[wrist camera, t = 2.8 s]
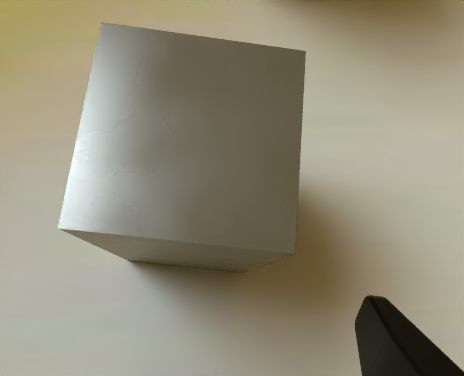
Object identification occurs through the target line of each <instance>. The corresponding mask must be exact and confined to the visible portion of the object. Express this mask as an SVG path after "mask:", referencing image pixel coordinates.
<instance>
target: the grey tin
mask: <svg viewBox="0 0 464 376" xmlns="http://www.w3.org/2000/svg"><path fill="white" fill-rule="evenodd" d="M305 55H306V51H301V50H294V49H287V48H280V47H273V46H266V45H259V44H252V43H245V42H238V41H231V40H224V39H216V38H209V37H202V36H195V35H188V34H181V33H174V32H167V31H160V30H153V29H146V28H139V27H131V26H124V25H117V24H110V23H103V22H102V23H101V27H100V32H99V37H98V41H97V46H96V51H95V56H94V60H93V65H92V70H91V74H90V79H89V84H88V89H87V93H86V98H85V103H84V107H83V112H82V117H81V121H80V126H79V131H78V136H77V140H76V145H75V150H74V154H73V159H72V164H71V168H70V173H69V178H68V183H67V187H66V192H65V197H64V201H63V206H62V211H61V216H60V220H59V225H58V229H61V230H63V231H65V232H67V233H69V234H71V235H74V236H76V237H78V238H80V239H82V240H84V241H87V242H89V243H91V244H93V245H95V246H97V247H100V248H102V249H104V250H106V251H108V252H111V253H113V254H115V255H117V256H119V257H121V258H124V259H126V260H128V261H138V262H148V263H158V264H167V265H177V266H187V267H197V268H207V269H216V270H226V271H236V272H246V271H249V270H252V269H254V268H257V267H260V266H263V265H265V264H268V263H271V262H273V261H276V260H279V259H282V258H284V257H287V256H290V255H292V254H295V246H296V227H297V208H298V189H299V170H300V151H301V132H302V113H303V94H304V74H305Z"/></svg>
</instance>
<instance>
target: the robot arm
mask: <svg viewBox="0 0 464 376" xmlns="http://www.w3.org/2000/svg"><path fill="white" fill-rule="evenodd" d="M355 332H356V338H357V345H358V352H359V358H360V365H361V371H362V376H464V372H463V371H462V370H461V369H460V368H459V367H458V366H457V365H456V364H455V363H454V362H453V361H452V360H451V359H450V358H449V357H448V356H446V355H445V354H444V353H443V352H442V351H441V350H440V349H439V348H438V347H437V346H436V345H435V344H434V343H433V342H432V341H431V340H430V339H429V338H428V337H426V336H425V335H424V334H423V333H422V332H421V331H420V330H419V329H418V328H417V327H416V326H415V325H414V324H413V323H412V322H411V321H410V320H409V319H407V318H406V317H405V316H404V315H403V314H402V313H401V312H400V311H399V310H398V309H397V308H396V307H395V306H394V305H393V304H392V303H391V302H390V301H388V300H387V299H386V298H385V297H381V296H372V295H369V296H366V297H365V299H364V301H363V303H362V305H361V308H360V310H359V312H358V315H357V317H356V320H355Z"/></svg>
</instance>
